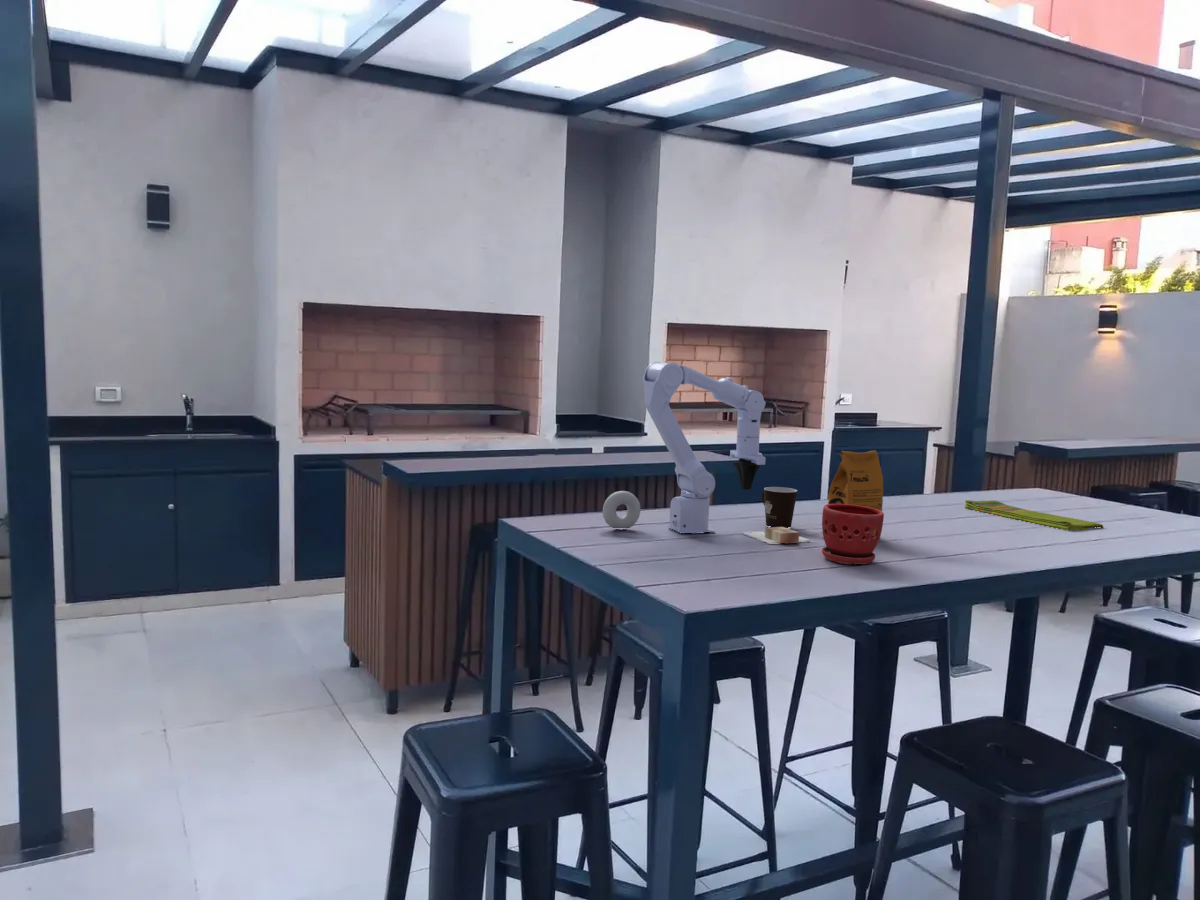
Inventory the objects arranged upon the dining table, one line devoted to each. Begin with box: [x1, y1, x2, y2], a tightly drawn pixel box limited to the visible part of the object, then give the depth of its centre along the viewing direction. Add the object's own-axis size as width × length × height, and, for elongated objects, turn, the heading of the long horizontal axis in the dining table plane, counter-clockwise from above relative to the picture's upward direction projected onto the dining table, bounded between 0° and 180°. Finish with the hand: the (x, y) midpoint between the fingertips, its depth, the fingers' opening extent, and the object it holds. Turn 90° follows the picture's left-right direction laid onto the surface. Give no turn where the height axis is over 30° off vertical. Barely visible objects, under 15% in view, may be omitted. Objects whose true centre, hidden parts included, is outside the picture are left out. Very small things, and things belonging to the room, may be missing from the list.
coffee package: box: [827, 450, 884, 536], centre depth 230 cm, size 10×12×22 cm
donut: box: [602, 490, 641, 529], centre depth 230 cm, size 10×4×10 cm, turn 110°
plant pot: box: [821, 503, 885, 566], centre depth 205 cm, size 13×13×12 cm
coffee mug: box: [761, 486, 798, 528], centre depth 242 cm, size 12×9×10 cm
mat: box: [743, 531, 812, 543], centre depth 228 cm, size 12×12×1 cm
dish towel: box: [964, 499, 1104, 532], centre depth 269 cm, size 15×36×3 cm, turn 27°
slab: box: [764, 527, 800, 544], centre depth 224 cm, size 5×2×7 cm
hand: (746, 489), depth 238 cm, fingers closed
